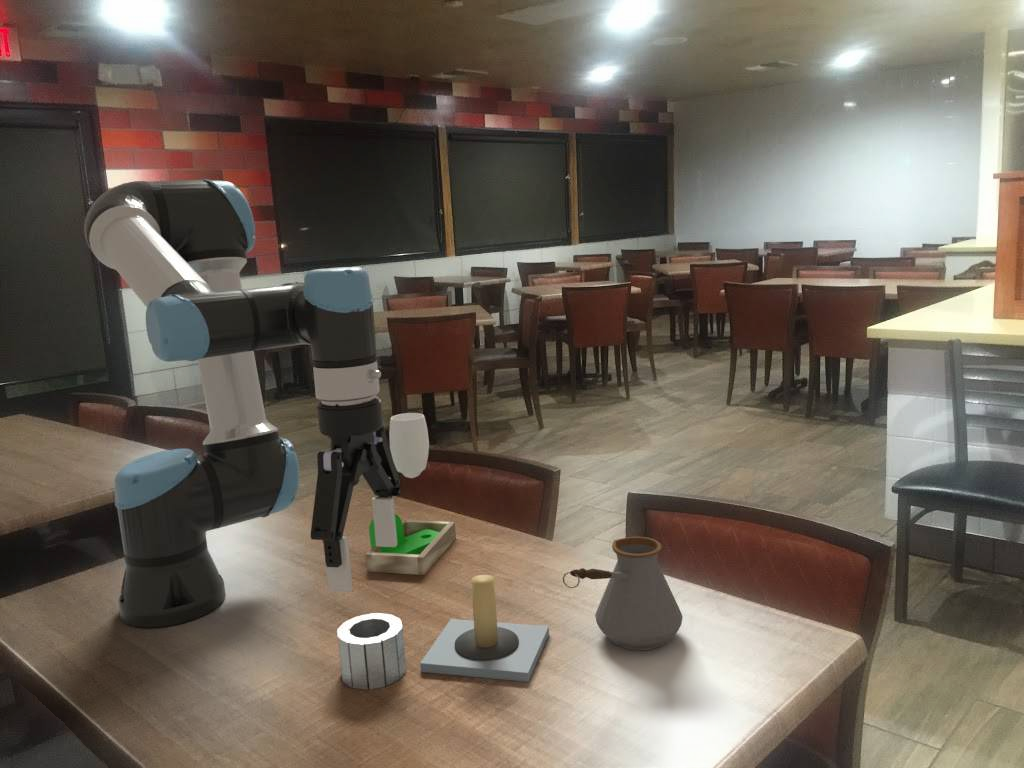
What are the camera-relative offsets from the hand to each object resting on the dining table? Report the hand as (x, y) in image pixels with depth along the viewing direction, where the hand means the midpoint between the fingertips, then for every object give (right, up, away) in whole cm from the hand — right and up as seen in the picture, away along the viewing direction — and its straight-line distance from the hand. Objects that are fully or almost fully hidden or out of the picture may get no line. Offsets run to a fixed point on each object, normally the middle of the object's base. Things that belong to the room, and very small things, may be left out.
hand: (365, 566), depth 104 cm
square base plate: (+15, -13, +6) cm, 21 cm away
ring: (+1, -14, +3) cm, 14 cm away
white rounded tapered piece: (0, -4, +55) cm, 55 cm away
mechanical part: (+1, -7, +40) cm, 41 cm away
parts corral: (+1, -7, +40) cm, 41 cm away
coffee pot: (+32, -12, +5) cm, 35 cm away
